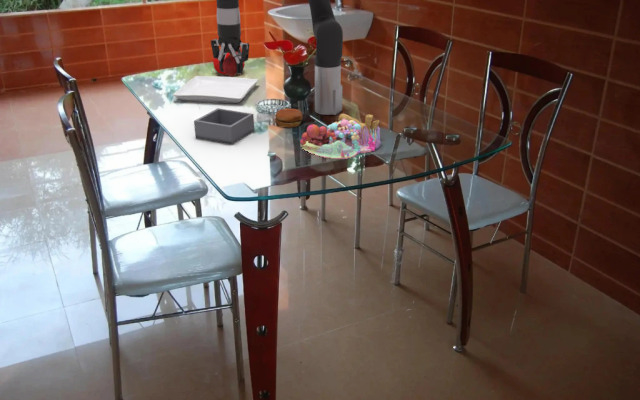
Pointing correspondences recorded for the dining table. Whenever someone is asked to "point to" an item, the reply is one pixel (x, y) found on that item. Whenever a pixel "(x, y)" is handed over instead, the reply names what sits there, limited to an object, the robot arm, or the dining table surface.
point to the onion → (230, 65)
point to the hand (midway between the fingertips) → (231, 72)
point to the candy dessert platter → (342, 138)
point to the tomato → (216, 64)
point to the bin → (224, 126)
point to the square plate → (215, 89)
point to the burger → (288, 117)
